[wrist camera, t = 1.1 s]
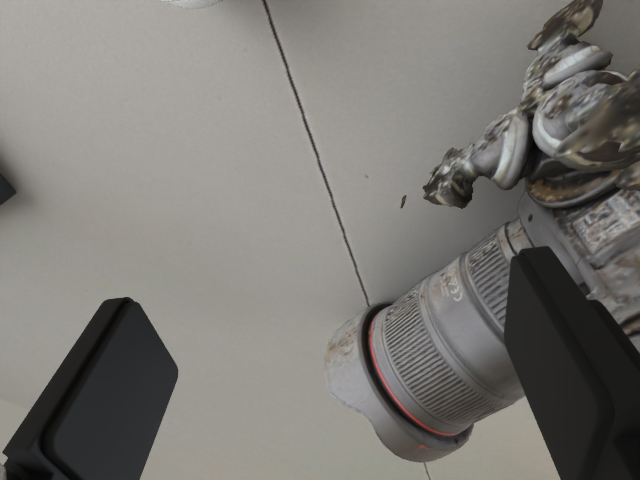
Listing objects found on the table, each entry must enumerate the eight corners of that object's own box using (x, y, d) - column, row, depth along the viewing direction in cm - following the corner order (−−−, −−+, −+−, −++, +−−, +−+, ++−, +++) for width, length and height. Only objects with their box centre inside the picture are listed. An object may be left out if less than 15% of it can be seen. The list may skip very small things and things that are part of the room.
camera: (910, 84, 7) (1224, 492, 11) (565, -19, 21) (760, 176, 25) (239, 486, 21) (488, 598, 25) (304, 262, 35) (456, 357, 39)
